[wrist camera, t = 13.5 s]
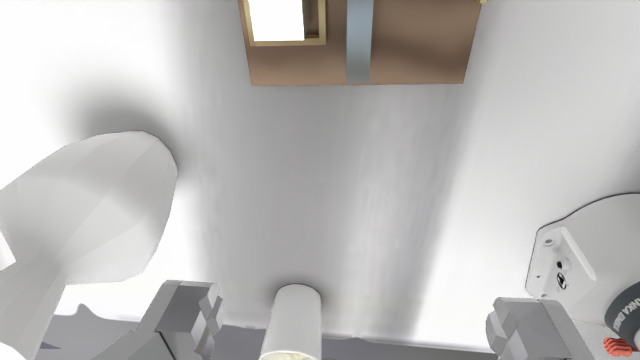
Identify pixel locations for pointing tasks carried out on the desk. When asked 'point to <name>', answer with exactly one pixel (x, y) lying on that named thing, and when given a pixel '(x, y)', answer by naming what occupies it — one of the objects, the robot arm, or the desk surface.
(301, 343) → the candle holder
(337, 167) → the desk surface
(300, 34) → the bar
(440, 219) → the desk surface
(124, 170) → the vase
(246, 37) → the board
